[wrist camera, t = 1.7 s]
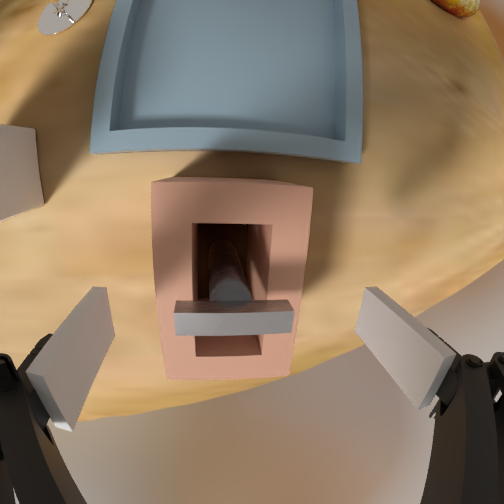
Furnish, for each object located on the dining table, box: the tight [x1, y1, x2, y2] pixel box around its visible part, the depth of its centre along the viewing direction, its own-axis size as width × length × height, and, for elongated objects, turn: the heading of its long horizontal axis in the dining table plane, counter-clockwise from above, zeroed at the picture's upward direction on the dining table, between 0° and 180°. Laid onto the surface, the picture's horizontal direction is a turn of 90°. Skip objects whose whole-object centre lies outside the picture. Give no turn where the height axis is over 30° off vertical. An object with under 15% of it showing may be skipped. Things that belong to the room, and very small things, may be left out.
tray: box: [90, 0, 363, 163], centre depth 16 cm, size 20×20×2 cm
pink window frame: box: [151, 177, 313, 380], centre depth 19 cm, size 14×8×8 cm, turn 177°
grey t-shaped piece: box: [174, 240, 295, 336], centre depth 17 cm, size 5×2×11 cm, turn 87°
